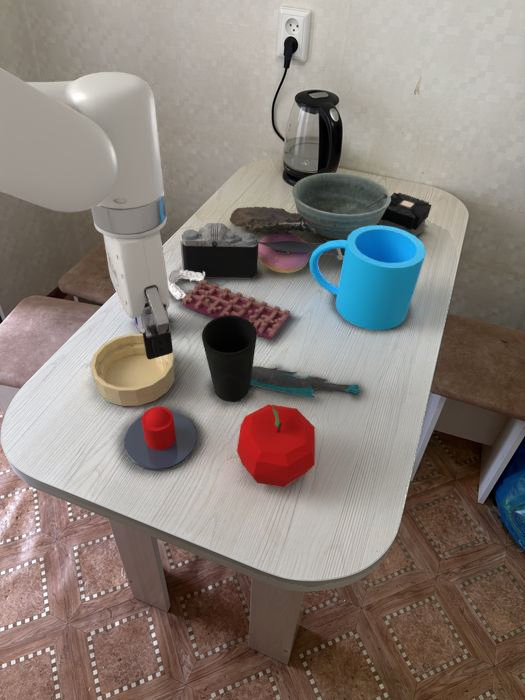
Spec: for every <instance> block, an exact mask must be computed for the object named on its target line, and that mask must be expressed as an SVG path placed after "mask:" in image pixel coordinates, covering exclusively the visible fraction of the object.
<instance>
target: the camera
mask: <svg viewBox="0 0 525 700" xmlns="http://www.w3.org/2000/svg"><path fill="white" fill-rule="evenodd" d="M179 242H180V243H179V244H180V256H181V267H182V269H183V270H184V271H185V270H188V271H193V272H200V273H202V274H204V273H203V271H204V272H205V277H204V279H247V280H253V279H254V278H256V277H257V275H258V266H259V257H258V246H259V243H258V242H259V240H258V237H257V235H255V234H253V233H244V234H243V235H242V232H239V231H238V232H237V231H232V229H231V228H229V227H228V226H227V225H226V224H224V223H222V222H207V223H206V224H204V225H203V226H202V227H200V228H199V230H198V231H197V230H195V229H191V228H190V229H186V230H184V231H183V232H182V234H181V240H180V241H179Z"/></svg>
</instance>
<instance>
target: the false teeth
mask: <svg viewBox="0 0 525 700" xmlns="http://www.w3.org/2000/svg"><path fill="white" fill-rule="evenodd" d="M203 273H204V274H202V273H200V272H193V271H188V270H185V271H184V270H183V269H181V268H179V267H177V268H176V269H173V270H171V271H169V274H168V275H167V280H168V287H169V293H171V295H172V296H173V297H174V298H175V299H176V300H180V299H181V300H183V299H184V298H185V297H186V296H188V295H189V294H188V293H186V292H185V290H183V289H181V288H180V287H179V285H177V284H176V283H177V282H178V280H180V279H184V280H189V282H191V283H192V281H195V282H199V281H203V280H205V278H204V277H205V272H204V271H203Z"/></svg>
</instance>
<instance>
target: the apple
mask: <svg viewBox="0 0 525 700" xmlns="http://www.w3.org/2000/svg"><path fill="white" fill-rule="evenodd" d="M238 433H239V434H238V440H237V446H236V452H237V455H238V458H239V460H240V462H241V465H242V466H243V467H244V469H245V470H246V471H247V472H248V474H249V475H250V476H251V477H252V479H253V480H254V482H256V484H260V485H267V486H273V487H280V488H286V487H287V486H288V485H290V484H292V483H294V482H295V481H296V480H298V479H300V478H301V477H303V476H305V475H306V474H307V473H308V472H309V471H311V469H312V468H313V467H315V465H316V462H315V461H316V427H315V425H313V423H311V422H310V421H309V419H307V417H306V416H305V415H303V413H302V412H301V411H300V410H298V408H296V407H291V406H284V405H277V404H274V403H273V401H272V404H271V403H267V404H266V405H264V406H262V407H260V408H259V409H256V410H255V411H253V412H250V413H249V414H247V415H244V417H243V420H242V422H241V423H240V425H239V432H238Z"/></svg>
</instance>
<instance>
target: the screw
mask: <svg viewBox="0 0 525 700" xmlns="http://www.w3.org/2000/svg"><path fill="white" fill-rule="evenodd" d="M384 198H385V199H387V198H388V195H387V194H384V195H383V197H382V198H380V199H379V200H377V201H375V202H374V203H372V204H370V205H368V206H367V207H365V208H364V209H366V208H368V207H370V206H372V205H373V204H375V203H377V202H378V201H380V200H382V199H384Z"/></svg>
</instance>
